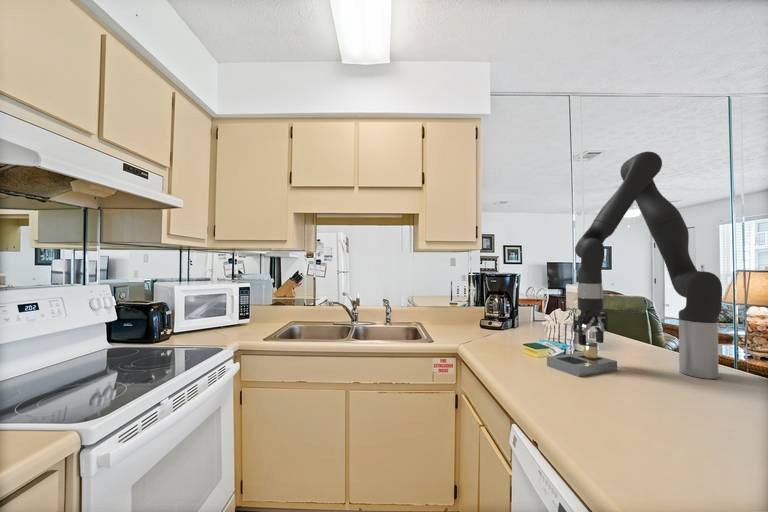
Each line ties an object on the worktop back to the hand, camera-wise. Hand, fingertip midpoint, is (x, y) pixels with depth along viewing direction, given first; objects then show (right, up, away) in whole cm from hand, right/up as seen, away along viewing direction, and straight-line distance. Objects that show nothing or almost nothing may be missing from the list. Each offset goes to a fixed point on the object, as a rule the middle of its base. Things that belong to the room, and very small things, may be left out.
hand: (591, 343), depth 114 cm
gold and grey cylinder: (0, -8, 0) cm, 8 cm away
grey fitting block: (-5, -8, -2) cm, 9 cm away
